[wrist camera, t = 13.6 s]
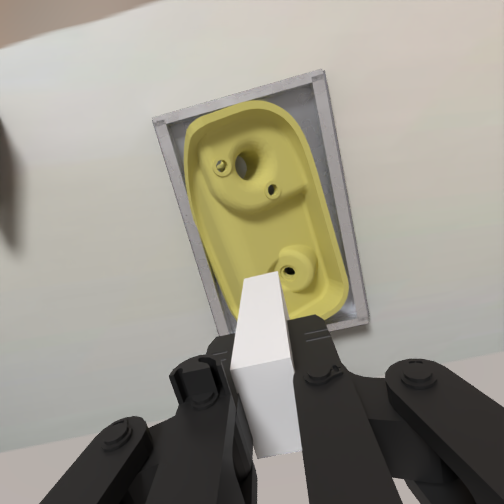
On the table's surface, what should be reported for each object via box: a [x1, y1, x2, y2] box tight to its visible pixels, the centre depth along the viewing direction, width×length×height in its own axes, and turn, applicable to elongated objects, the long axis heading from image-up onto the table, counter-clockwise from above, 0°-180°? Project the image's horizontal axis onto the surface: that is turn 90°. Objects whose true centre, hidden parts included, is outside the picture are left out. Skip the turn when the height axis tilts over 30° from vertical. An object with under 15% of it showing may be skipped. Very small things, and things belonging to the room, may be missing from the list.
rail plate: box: [152, 69, 369, 336], centre depth 32 cm, size 16×24×2 cm, turn 14°
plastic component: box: [184, 100, 349, 321], centre depth 30 cm, size 20×7×10 cm
